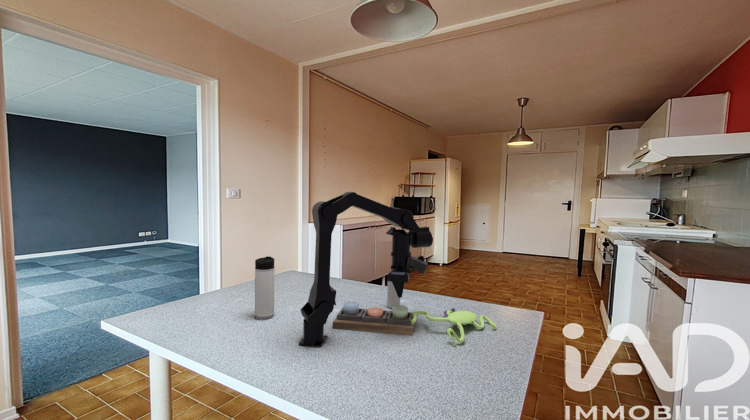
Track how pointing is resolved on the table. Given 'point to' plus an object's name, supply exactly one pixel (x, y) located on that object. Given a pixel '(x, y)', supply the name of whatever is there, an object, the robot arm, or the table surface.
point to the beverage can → (392, 296)
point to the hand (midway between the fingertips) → (400, 297)
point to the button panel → (374, 322)
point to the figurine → (456, 321)
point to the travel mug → (264, 288)
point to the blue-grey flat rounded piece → (351, 308)
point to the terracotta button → (375, 312)
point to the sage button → (399, 311)
